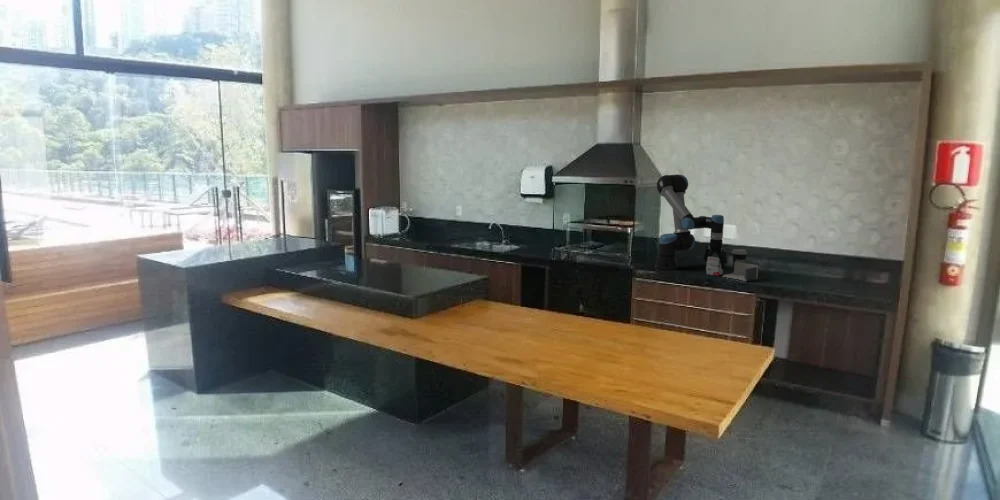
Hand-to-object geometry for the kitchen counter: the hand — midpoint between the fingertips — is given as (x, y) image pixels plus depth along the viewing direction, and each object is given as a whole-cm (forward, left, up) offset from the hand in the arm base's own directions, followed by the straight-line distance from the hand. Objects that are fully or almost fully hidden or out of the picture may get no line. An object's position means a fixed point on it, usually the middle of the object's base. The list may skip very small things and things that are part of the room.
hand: (714, 272), depth 382 cm
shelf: (+16, +5, -2) cm, 17 cm away
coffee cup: (+4, +20, -2) cm, 20 cm away
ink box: (0, 0, -2) cm, 2 cm away
